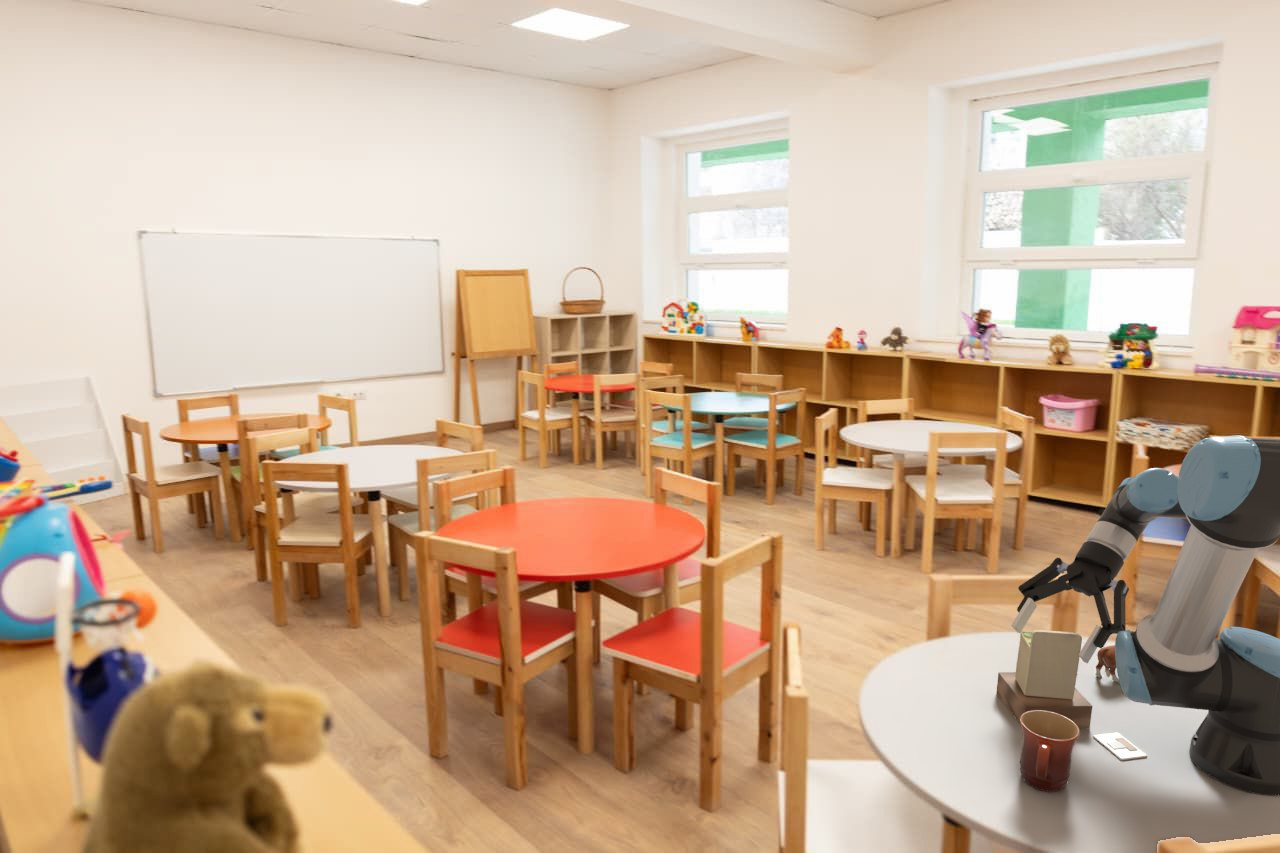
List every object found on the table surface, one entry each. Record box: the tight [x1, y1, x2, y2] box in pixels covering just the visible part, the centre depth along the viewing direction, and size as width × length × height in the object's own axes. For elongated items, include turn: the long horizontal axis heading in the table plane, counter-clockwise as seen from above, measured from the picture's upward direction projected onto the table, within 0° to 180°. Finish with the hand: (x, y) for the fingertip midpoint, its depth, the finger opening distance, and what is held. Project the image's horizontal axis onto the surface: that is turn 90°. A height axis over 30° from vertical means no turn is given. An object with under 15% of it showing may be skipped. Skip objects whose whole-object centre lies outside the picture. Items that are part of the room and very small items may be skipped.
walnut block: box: [996, 671, 1093, 729], centre depth 159 cm, size 12×12×5 cm
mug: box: [1019, 710, 1081, 793], centre depth 137 cm, size 12×9×10 cm
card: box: [1092, 731, 1148, 761], centre depth 148 cm, size 7×5×1 cm
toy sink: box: [1015, 629, 1083, 699], centre depth 157 cm, size 8×7×13 cm
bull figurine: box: [1095, 644, 1120, 683], centre depth 171 cm, size 4×13×8 cm, turn 103°
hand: (1047, 643), depth 157 cm, fingers open, 13 cm apart
